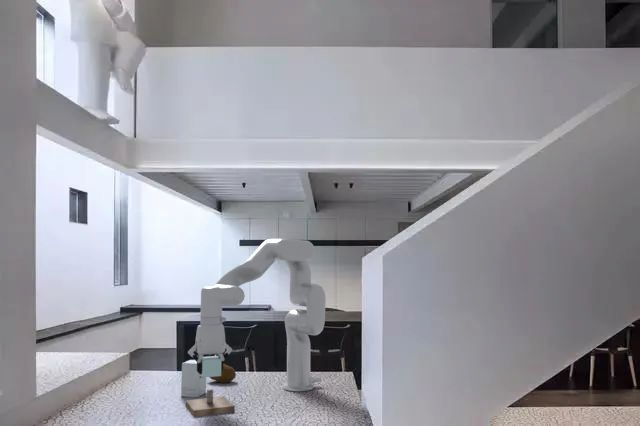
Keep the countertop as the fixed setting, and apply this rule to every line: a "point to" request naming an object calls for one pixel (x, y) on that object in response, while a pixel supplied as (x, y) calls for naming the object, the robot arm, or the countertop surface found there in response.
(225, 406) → the wooden peg base
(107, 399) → the countertop surface
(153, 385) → the countertop surface
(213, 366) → the pale blue cube
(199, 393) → the supplement box
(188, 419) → the countertop surface
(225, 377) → the potato
